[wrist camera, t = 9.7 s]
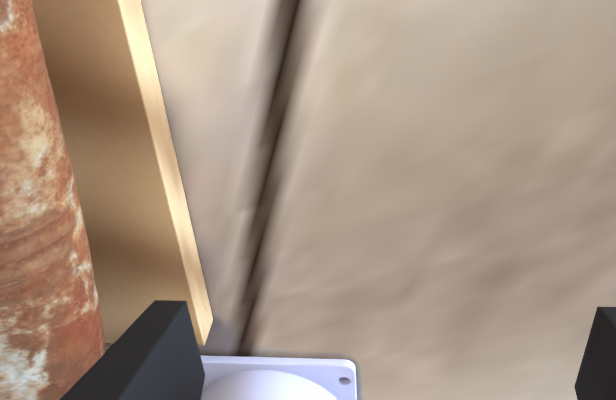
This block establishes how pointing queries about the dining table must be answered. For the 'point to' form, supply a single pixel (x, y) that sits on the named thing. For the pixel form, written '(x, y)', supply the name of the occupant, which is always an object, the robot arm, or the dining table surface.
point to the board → (122, 160)
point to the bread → (39, 230)
